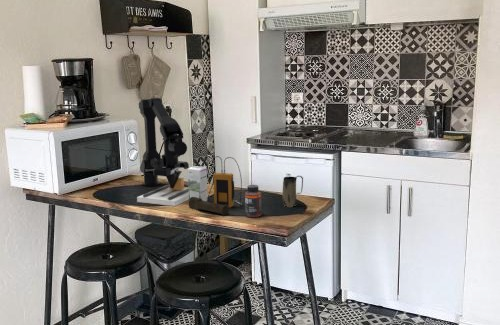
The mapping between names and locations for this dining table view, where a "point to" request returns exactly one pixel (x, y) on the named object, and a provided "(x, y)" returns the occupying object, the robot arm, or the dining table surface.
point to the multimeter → (224, 187)
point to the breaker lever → (179, 184)
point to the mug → (290, 191)
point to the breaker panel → (165, 196)
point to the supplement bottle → (253, 201)
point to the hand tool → (208, 206)
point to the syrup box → (197, 182)
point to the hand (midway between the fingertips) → (172, 188)
